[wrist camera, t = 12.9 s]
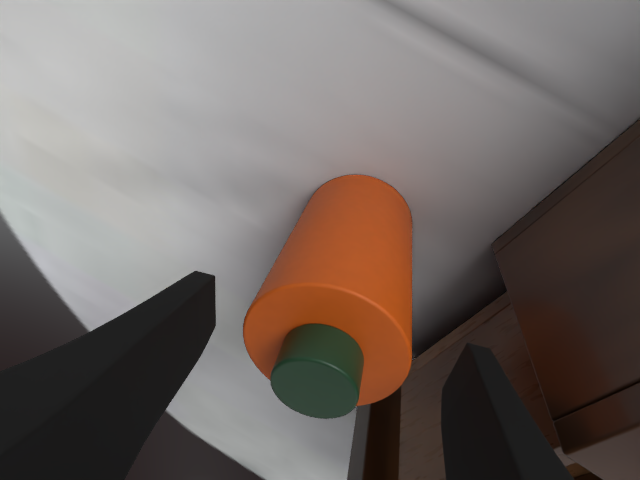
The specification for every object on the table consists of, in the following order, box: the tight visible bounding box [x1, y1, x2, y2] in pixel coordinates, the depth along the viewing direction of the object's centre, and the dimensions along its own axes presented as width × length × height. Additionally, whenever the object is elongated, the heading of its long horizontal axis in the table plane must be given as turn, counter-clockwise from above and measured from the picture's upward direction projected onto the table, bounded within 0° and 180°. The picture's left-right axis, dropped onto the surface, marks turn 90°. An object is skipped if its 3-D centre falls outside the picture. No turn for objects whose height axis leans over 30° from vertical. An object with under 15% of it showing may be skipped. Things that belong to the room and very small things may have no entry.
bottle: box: [243, 175, 412, 419], centre depth 12 cm, size 5×5×8 cm
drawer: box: [347, 292, 603, 480], centre depth 15 cm, size 18×12×7 cm
